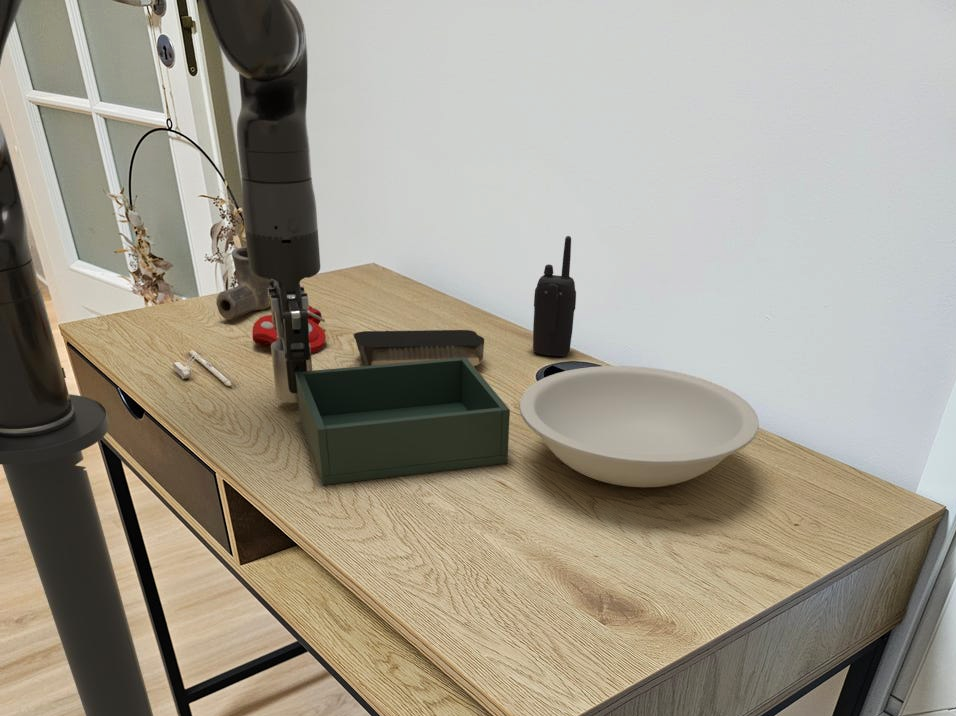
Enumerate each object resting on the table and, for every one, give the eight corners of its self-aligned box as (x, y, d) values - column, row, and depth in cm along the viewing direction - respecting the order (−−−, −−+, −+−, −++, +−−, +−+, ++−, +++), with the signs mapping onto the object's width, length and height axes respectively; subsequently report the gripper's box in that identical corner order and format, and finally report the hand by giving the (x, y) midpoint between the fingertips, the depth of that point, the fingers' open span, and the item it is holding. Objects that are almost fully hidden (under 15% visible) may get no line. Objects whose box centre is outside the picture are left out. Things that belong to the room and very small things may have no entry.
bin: (322, 485, 89) (317, 429, 85) (300, 423, 100) (295, 371, 97) (507, 463, 94) (510, 409, 90) (465, 406, 105) (466, 356, 102)
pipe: (210, 321, 128) (201, 263, 123) (255, 297, 138) (248, 242, 133) (248, 327, 126) (240, 268, 122) (290, 301, 136) (284, 246, 131)
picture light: (233, 387, 108) (231, 370, 107) (199, 394, 106) (196, 377, 105) (193, 353, 117) (190, 337, 116) (161, 359, 115) (157, 343, 114)
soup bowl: (548, 533, 82) (554, 469, 78) (495, 427, 101) (497, 370, 97) (786, 514, 86) (803, 451, 82) (692, 415, 105) (702, 360, 101)
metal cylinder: (278, 404, 101) (273, 352, 98) (273, 390, 105) (268, 339, 101) (316, 401, 102) (313, 350, 99) (311, 387, 106) (307, 337, 102)
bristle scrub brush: (359, 377, 112) (357, 348, 110) (356, 353, 119) (355, 326, 116) (486, 373, 114) (487, 345, 112) (477, 350, 121) (477, 323, 119)
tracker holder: (332, 346, 117) (255, 332, 114) (326, 374, 120) (251, 362, 117) (326, 298, 125) (254, 283, 121) (321, 326, 128) (250, 313, 125)
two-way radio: (573, 351, 121) (583, 234, 112) (567, 362, 118) (577, 242, 109) (533, 347, 122) (540, 230, 113) (527, 358, 119) (533, 239, 110)
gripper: (238, 211, 97) (256, 364, 107) (251, 243, 86) (270, 410, 96) (307, 209, 99) (318, 360, 109) (328, 240, 88) (338, 404, 98)
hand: (295, 383), depth 103 cm, fingers closed on metal cylinder, 4 cm apart
